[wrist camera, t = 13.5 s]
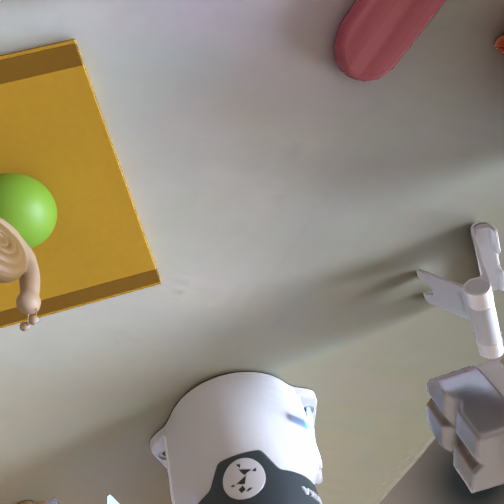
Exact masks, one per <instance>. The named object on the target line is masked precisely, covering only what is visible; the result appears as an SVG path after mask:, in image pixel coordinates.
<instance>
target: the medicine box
mask: <svg viewBox="0 0 504 504" xmlns="http://www.w3.org/2000/svg"><path fill="white" fill-rule="evenodd" d="M494 45H495V47H496V48H497V49H498V50H499V51H500V52H501V53H502V54H504V35H503V36H501V37H499V38H498V39H497V41H496V42H495V43H494Z"/></svg>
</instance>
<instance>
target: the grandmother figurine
mask: <svg viewBox="0 0 504 504" xmlns="http://www.w3.org/2000/svg"><path fill="white" fill-rule="evenodd" d="M32 503H34V502H32V501H23V502H21V503H19V504H32Z"/></svg>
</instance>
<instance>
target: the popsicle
mask: <svg viewBox="0 0 504 504" xmlns="http://www.w3.org/2000/svg"><path fill="white" fill-rule="evenodd" d="M445 1H446V0H356V1H355V3H354V4H353V6H352V7H351V9H350V10H349V12H348V13H347V15H346V17H345V18H344V20H343V21H342V23H341V24H340V26H339V30H338V33H337V36H336V40H335V43H334V50H335V59H336V62H337V63H338V65H339V67H340V69H341V71H343V72H344V73H345V74H346V75H347V76H349V77H351V78H353V79H356V80H360V81H364V82H365V81H371V80H376V79H379V78H380V77H382V76H383V75H384V74H386V73H387V72H388V71H390V70H391V69H393V68H394V66H395V65H396V64H397V62H398V61H399V60H400V59H401V57H402V56H403V55H404V54H405V52H406V51H407V50H408V48H409V47H410V46H411V45H412V43H413V42H414V41H415V39H416V38H417V37H418V36H419V34H420V33H421V32H422V30H423V29H424V28H425V27H426V25H427V24H428V23H429V22H430V20H431V19H432V18H433V16H434V15H435V14H436V13H437V11H438V10H439V9H440V7H441V6H442V5H443V3H444V2H445Z"/></svg>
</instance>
